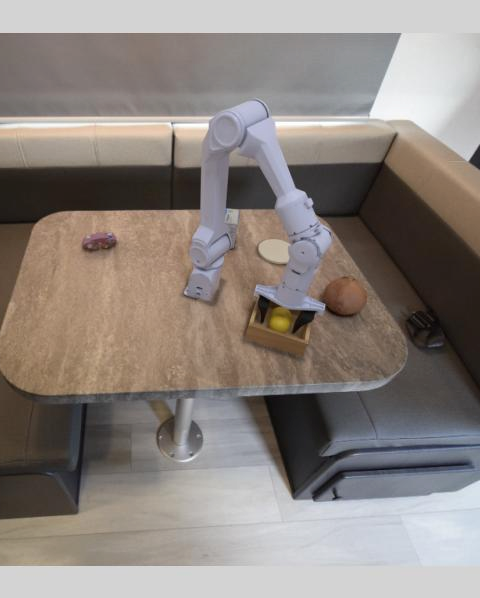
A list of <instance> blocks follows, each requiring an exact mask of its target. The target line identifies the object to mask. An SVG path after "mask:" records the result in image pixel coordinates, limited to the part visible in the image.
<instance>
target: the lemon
mask: <svg viewBox="0 0 480 598" xmlns="http://www.w3.org/2000/svg"><path fill="white" fill-rule="evenodd" d="M290 323H291V313H290V311H289V310H288V309H286V308H283V307H277V308H275V309H274V310H273V311H272V312H271V315H270V319H269V323H268V324H269V328H270V329H272V330H275V331H278V332H281V333H285V332H287V331H288V329H289V327H290Z"/></svg>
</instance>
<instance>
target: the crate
mask: <svg viewBox="0 0 480 598" xmlns="http://www.w3.org/2000/svg"><path fill="white" fill-rule="evenodd" d="M258 299H259V296H258V297H256V300H255V304H254V307H253V310H252V313H251V316H250V319H249V322H248V325H247V328H246V331H245V335H244V339H246V340H249V341H252V342H256V343H258V344H262V345H265V346H268V347H271V348H274V349H277V350H280V351H284V352H287V353H289V354H292V355H295V356H299V357H303V354H304V352H305V350H306V348H307V347H308V345H309V342H310V335H311V329H312V322H313V321H312V322H310V323H307V324H305V325H303V326H302V327H301V328H299V329H298V330H297V331H296V333H293V332H292V331H293V326H294V323H295V321H296V319H297V318H298V316H299V314H300V311H301V310H291V309H288V310H289V311H290V313H291V323H290V327H289V329H288V331H287V332H285V333H281V332H278V331H275V330H272V329H270V328H269V324H268V323H269V319H270V315H271V312H272V311H273V310H274V309H275V308H277V307H282V306H280V305H278V304H276V303H275V302H273V301H271V300H270V303H269V306H268V309H267V312H266V316H265V319H264V322H263V323H261V322H260V321H261V314H260V310H259V308H258V304H257V303H258Z"/></svg>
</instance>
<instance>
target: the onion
mask: <svg viewBox="0 0 480 598" xmlns="http://www.w3.org/2000/svg"><path fill="white" fill-rule="evenodd" d="M323 301H324V304H325V306H327V308H328V309H329V310H330V311H331V312H333V314H335V315H339V316H343V317H345V316H349V315H354V314H356V313H360V312H361V311H362V310H364V308H365V306H366V305H367V303H368V292H367V290H366V288H365V287H364V286H363V285H362V283H360V282H359V281H358V280H357V279H356V277H354V276H353V275H351V274H350V275H347V276H341V277H338V278H336V279H333V280H332V281H330V282H329V283H328V284H327V285H326V286H325V288H324V290H323Z"/></svg>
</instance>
